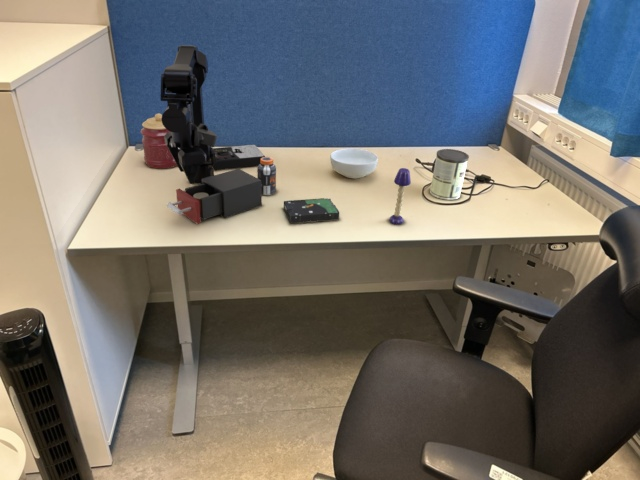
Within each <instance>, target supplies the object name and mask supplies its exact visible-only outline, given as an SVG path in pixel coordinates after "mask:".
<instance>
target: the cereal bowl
mask: <svg viewBox="0 0 640 480" xmlns="http://www.w3.org/2000/svg"><path fill="white" fill-rule="evenodd" d="M329 157H330V158H329V159H330V160H329V161H330V165H331V168H332V169H333V170H334V172H336V173H338V174H340V175H341V176H343V177H345V178H348V179H361V178H363V177H365V176H369V175H370V174H372V173H373V172H374V171H375V170H376V169H377V167H378V162H379V157H378V155H377V154H376V153H374V152H372V151H369V150H366V149H361V148H340V149H337V150H334V151H332V152H331V153H330V156H329Z"/></svg>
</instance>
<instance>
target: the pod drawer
mask: <svg viewBox="0 0 640 480" xmlns="http://www.w3.org/2000/svg"><path fill="white" fill-rule="evenodd" d="M201 192H202V193H207V194H208V195H209V196H207V197H204V198H200V201H201V212H200V207H199V201H198V200H197V199H195V198H194V197H193V195H194V194H196V193H201ZM175 193H176V201H175V202H167V203H166V207H167V208H168V209H170V210H171V211H173V212H174V213H175V214H177V215H178V216H181V215H184V216H185V217H187V218H188V219H189V220H191V221H192V222H193V223H195V224H198V225H199V224H200V223H202V221H201V220H207V219H210V218H213V217H215V216H218V215H219V214H222V213H223V195H222V193H221V192H220V191H218V190H216V189H215V188H213V187H211V186H210V185H208V184H206V183H203V184H196V185H193V186H189V187H185V188H184V190H183V189H182V188H177V189H175ZM219 216H220V215H219Z"/></svg>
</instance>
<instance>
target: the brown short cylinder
mask: <svg viewBox="0 0 640 480" xmlns="http://www.w3.org/2000/svg"><path fill="white" fill-rule="evenodd" d="M207 196H209V195H208V194H207V193H202V192H201V193H196V194H194V195H193V197H194V198H195V199H197V200H198V201H199V207H200V212H201V201H200V198H204V197H207Z"/></svg>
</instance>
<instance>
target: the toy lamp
mask: <svg viewBox="0 0 640 480" xmlns="http://www.w3.org/2000/svg"><path fill="white" fill-rule="evenodd" d="M393 182H394V184H395V185H397V186H398V190H397V192H398V193H397V197H396V203H395V207H394V213H393V214H392V215H391V216H390V217H389V219H388V221H389V223H390V224H393V225H396V226H397V225H398V226H399V225H402V224H404V218H403V216H402V215H401V211H402V207H403V201H404V196H405V194H404V193H405V187H407V186H410V185H411V172H410V170H409V169H408V168H406V167H401V168H399V169H398V171H397V173H396V175H395V177H394V180H393Z"/></svg>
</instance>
